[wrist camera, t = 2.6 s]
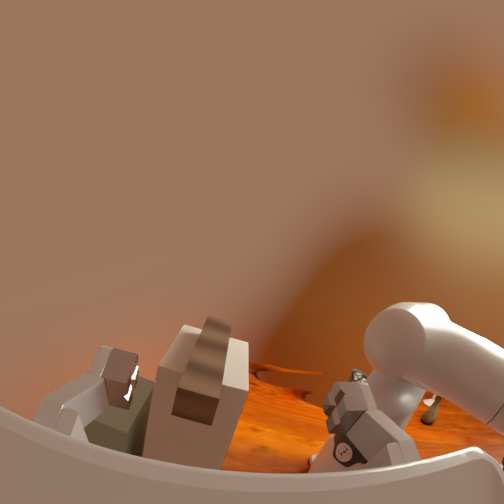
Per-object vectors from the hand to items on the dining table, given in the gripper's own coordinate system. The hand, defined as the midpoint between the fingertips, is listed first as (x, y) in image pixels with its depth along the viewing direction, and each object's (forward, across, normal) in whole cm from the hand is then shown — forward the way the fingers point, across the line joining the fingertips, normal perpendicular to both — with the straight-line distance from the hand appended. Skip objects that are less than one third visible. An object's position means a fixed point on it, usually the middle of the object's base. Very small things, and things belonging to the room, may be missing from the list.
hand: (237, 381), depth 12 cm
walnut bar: (+16, 0, -18) cm, 24 cm away
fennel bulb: (+35, +73, -60) cm, 100 cm away
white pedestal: (+11, -2, -44) cm, 45 cm away
